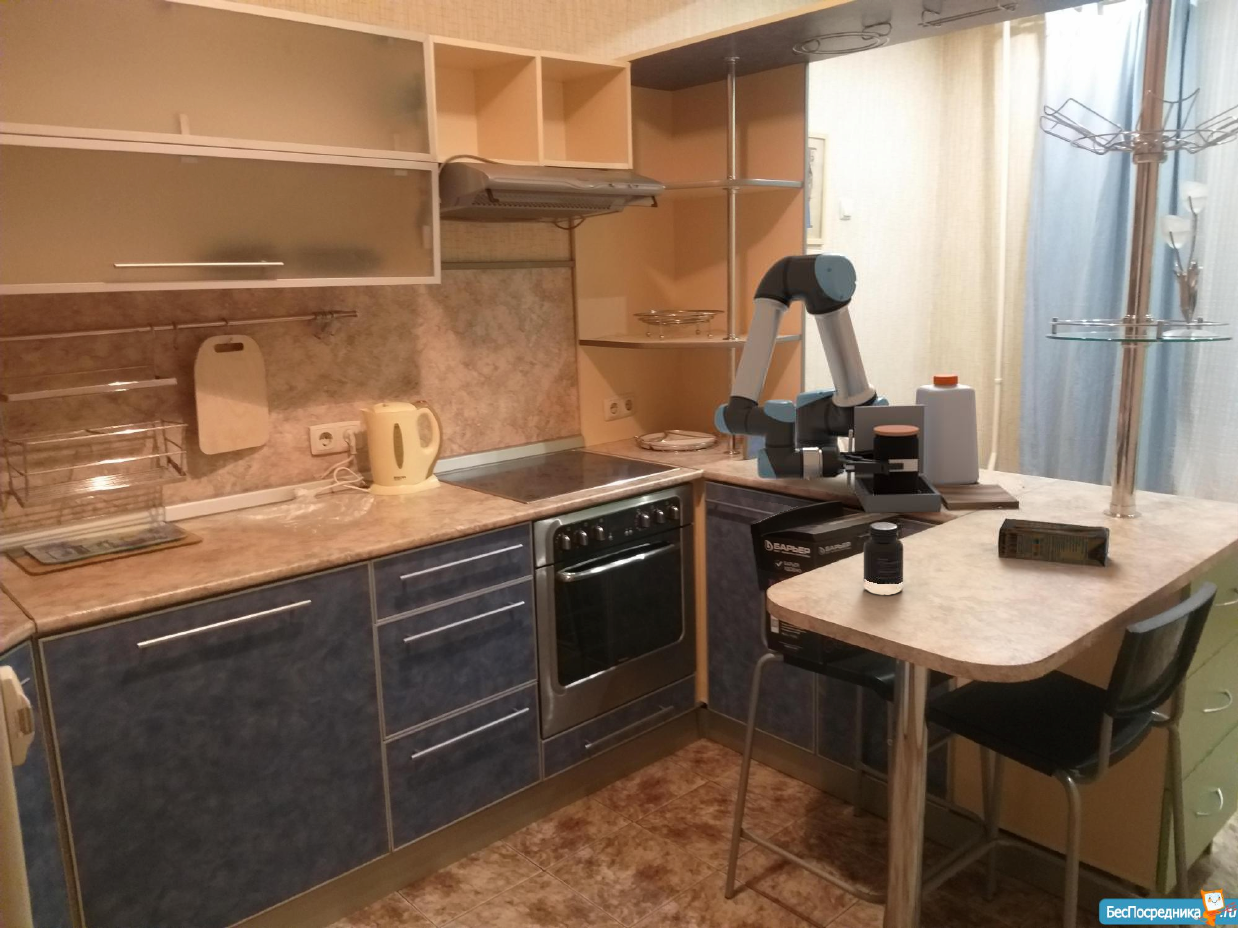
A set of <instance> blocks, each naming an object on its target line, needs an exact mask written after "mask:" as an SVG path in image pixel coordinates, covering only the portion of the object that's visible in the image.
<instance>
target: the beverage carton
mask: <svg viewBox="0 0 1238 928" xmlns="http://www.w3.org/2000/svg"><path fill="white" fill-rule="evenodd" d="M1110 531H1111V530H1110V528H1109V527H1105V526H1099V525H1098V526H1097V525H1096V526H1094V525H1093V526H1088V525H1081V524H1080V525H1079V524H1072V523H1071V524H1070V523H1060V522H1049V521H1039V520H1028V519H1017V518H1007V517H1006V518H1005V519H1004V521H1003V522H1002V524H1001V526H1000V528H999V530H998V539H997V540H998V541H997V554H998V555H999V556H998V555H997V556H998V557H1001V556H1006V557H1005V558H1009V557H1010V558H1011V559H1020V560H1021V559H1023V560H1029V561H1030V560H1031V561H1041V562H1051V563H1061V564H1071V565H1081V566H1082V565H1083V566H1090V567H1091V566H1093V567H1101V568H1102V567H1103V568H1105V567H1106V565H1107V559H1108V554H1109V545H1110V544H1109V540H1110Z"/></svg>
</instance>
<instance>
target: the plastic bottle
mask: <svg viewBox="0 0 1238 928" xmlns="http://www.w3.org/2000/svg"><path fill="white" fill-rule="evenodd" d="M958 381H959V377H958V375H957V374H952V373H951V374H950V373H949V374H947V373H946V374H945V373H943V374H941V373H940V374H935V375H934V376H933V384H927V385H926V384H925V385H921V386H919V387H917V389H916V391H915V392H916V393H915V404H914V405H924V470H923V474H924V477H925V478H926V479H927V480H928V481H929V482H930V483H931V484H932V485H933V486H940V485H973V484H974V483H977V482H978V481H979V478H980V468H979V466H980V465H979V464H980V463H979V448H978V446H979V445H978V443H979V442H978V424H977V406H976V405H977V403H976V391H975V389H974V387H971V386H968V385H965V384H960V383H959V382H958Z"/></svg>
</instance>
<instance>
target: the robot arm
mask: <svg viewBox="0 0 1238 928" xmlns="http://www.w3.org/2000/svg"><path fill="white" fill-rule="evenodd" d="M857 280H858V279H857V274H856V269H855V267H854V264H853V263H852V261H851V260H850V259H849V258H848V257H847V256H846V255H844V254H842V253H835V252H834V253H833V252H823V253H813V254H812V253H811V254H798V255H797V254H792V255H787V256H785V257H782V258H780V259H778V261H776V262H775V263H774V264H772V265H771V266H770V268H769V269H768V270H767V271H766V272H765V274H764V275H763V276H762V278H761V280H760V281H759V283H758V285H757V287H756V289H755V293H754V296H753V298H752V299H753V300H752V305H753V307H754V311H753V314H752V317H751V321H750V325H749V329H748V332H747V335H746V340H745V342H744V346H743V350H742V352H741V358H740V359H739V360H740V361H739V364H738V367H737V370H736V374H735V378H734V382H733V385H732V389H731V393H730V396H729V399H728V402H727V403H724V404H721V405H719V406H718V408H717V409H716V410H715V413H714V424H715V428H717V430H718V431H720V433H724V434H729V435H731V436H736V435H737V436H746V437H755V438H764V447H762V448H759V449H758V450H757V452H756V453H757V454H756V455H757V456H756V458H757V459H756V460H757V464H756V466H757V476H758V477H759V478H761V479H772V480H773V479H775V480H781V479H783V480H784V479H785V480H786V479H806V480H807V481H810V480H811V479H817V478H820V476H821V477H822V478H824V479H826V478H828V479H829V478H830V479H831V478H832V479H833V478H837V477H838V474H841V473H843V472H845V473H846V474H847V473H849V472H851V473H854V472H859V473H882V474H886V475H889V472H893V471H918V460H917V459H903V460H889V461H881V460H873V450H864V451H853V450H852V452H848V451H841V449H840V445H839V441H838V440H839V439H838V438H848V439H849V430H853V439H854V407H863V406H890V403H889V401H888V399H887V398H885V397H883V396H878V394H877V390H876V387H875V385H873V384H872V383H871V382H870V383H869V382H868V380H867V375H866V371H865V368H864V364H863V360H862V355H861V352H860V348H859V345H858V341H857V337H856V333H855V330H854V326H853V322H852V319H851V314H850V311H849V308H848V306H849V305H850V304H851V302H852V297H853V296H854V294H855V293H856V290H857V289H856V288H857V284H856V282H857ZM794 302H803V303H804V306H805V310H806V312H807V313H808V315H810V316H813V317H814V319H815V323H816V326H817V329H818V330H817V331H818V334H819V337H820V340H821V343H822V347H823V351H824V354H825V359H826V360H827V361H826V362H827V366H828V368H829V373H830V375H831V378H832V382H833V386H834V388H827V389H825V388H824V389H818V390H810V391H806V392H801V393H799V394H798V395H797V396H796V399H795V403H794V402H793V401H792V400H790V399H769V400H766V401H765V402H764V404H763V406H759V403H760V401H761V396H762V392H763V389H764V386H765V382H766V378H767V375H768V371H769V367H770V364H771V361H772V357H773V354H774V349H775V347H776V343H777V338H778V337H779V336H778V335H779V331H780V328H781V325H782V322H783V318H784V315H786V314H788V313H789V310H790V307H791V305H792V304H793V303H794Z"/></svg>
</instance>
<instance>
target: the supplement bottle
mask: <svg viewBox="0 0 1238 928" xmlns="http://www.w3.org/2000/svg"><path fill="white" fill-rule="evenodd" d="M868 530H869V531H868V536H869V538H867V539H866V540H865V542H864V543H863V580H864V579H866V580H867V581H869V582H873V583H877V584H899V583H901V582H903V583H904V545H903V542H902V541H901V540H900V539H898V537H899V532H898V531H899V529H898V525H897V524H895V523H892V522H886V521H885V522H883V521H881V522H880V521H879V522H873V523H870V524H869V529H868Z"/></svg>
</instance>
